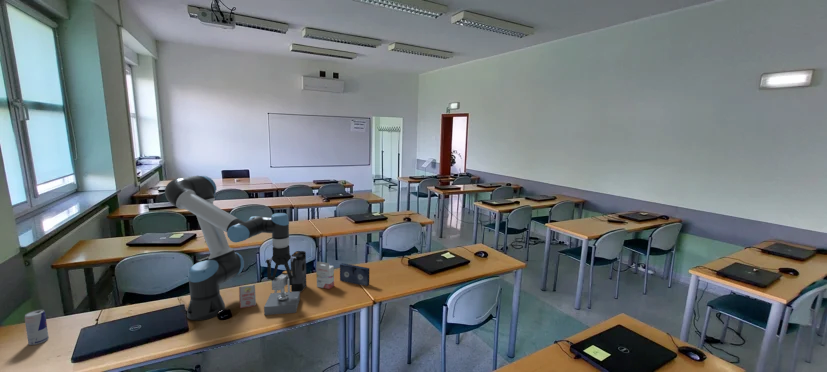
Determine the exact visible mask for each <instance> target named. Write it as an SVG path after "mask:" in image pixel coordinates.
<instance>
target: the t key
mask: <svg viewBox="0 0 827 372" xmlns="http://www.w3.org/2000/svg"><path fill="white" fill-rule="evenodd" d="M290 271H291V270H290ZM291 274H292V271H291ZM288 278H289V277H288V274H287V271H286V270H284V271H282V273H281V274H280V275H278V276H277V277H275V279H274V280H271V290H273V291H275V290H277V292H279V291H280V293H281V295H279V296H278V297H277V299H278V300H286V299H288V295H287V294H285V292H286V291H285V287H286V286H288Z"/></svg>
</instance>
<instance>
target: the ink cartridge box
mask: <svg viewBox="0 0 827 372" xmlns="http://www.w3.org/2000/svg"><path fill="white" fill-rule="evenodd" d="M315 268H316V270H315V272H316V287H317V288H322V289H326V290H327V289H328V290H330V289H331V288H333V287H334V286H335V266H334V265H330V263H329V262H323V261H316V267H315Z"/></svg>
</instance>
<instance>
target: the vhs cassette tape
mask: <svg viewBox="0 0 827 372" xmlns="http://www.w3.org/2000/svg"><path fill="white" fill-rule="evenodd" d="M339 282H344V283H349V284H356V285H360V286H364V285H365V286H366V287H368V286H369V285H370V267H365V266H358V265H354V264H347V263H343V262H341V263H340V264H339ZM365 286H364V287H365Z"/></svg>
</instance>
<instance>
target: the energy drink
mask: <svg viewBox="0 0 827 372" xmlns="http://www.w3.org/2000/svg"><path fill="white" fill-rule="evenodd" d="M24 324H25V325H24V326H25V329H26V330H25V331H26V336H27V337H26V338H27V343H28V344H27V345H30V346H36V345H41V344H43V343H45V342H47V341H48V339H49V332H48V330H49V329H48V323H47V316H46V312H45V310H44V309H37V310H32V311H29V312H27V313H25V314H24Z"/></svg>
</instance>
